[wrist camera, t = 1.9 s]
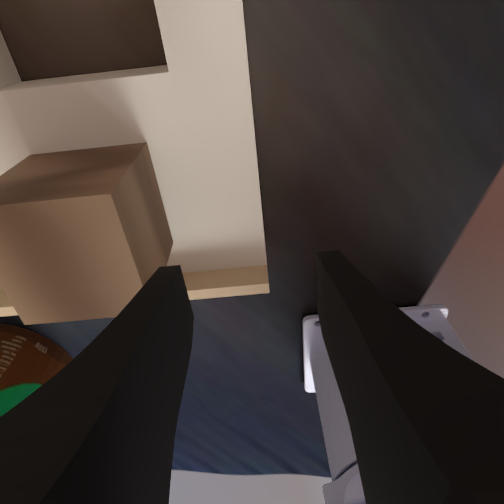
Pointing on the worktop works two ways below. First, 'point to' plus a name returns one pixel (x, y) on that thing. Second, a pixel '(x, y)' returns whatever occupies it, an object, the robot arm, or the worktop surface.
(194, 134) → the trap deck
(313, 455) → the worktop surface
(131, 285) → the walnut block
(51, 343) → the food container
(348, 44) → the worktop surface
